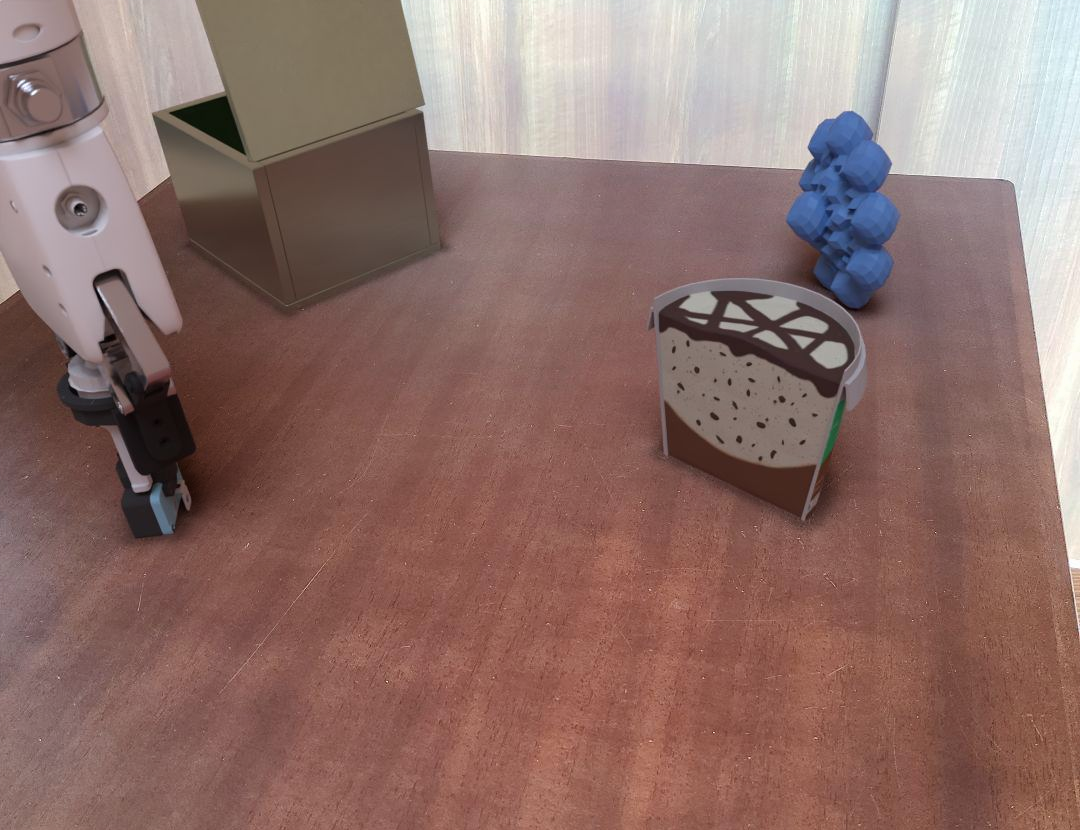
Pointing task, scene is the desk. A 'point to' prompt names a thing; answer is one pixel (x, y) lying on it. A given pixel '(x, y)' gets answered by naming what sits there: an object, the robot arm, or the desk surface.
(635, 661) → the desk surface
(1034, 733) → the desk surface
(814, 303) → the food container
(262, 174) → the bin
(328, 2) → the bin lid
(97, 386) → the push button
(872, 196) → the grapes
